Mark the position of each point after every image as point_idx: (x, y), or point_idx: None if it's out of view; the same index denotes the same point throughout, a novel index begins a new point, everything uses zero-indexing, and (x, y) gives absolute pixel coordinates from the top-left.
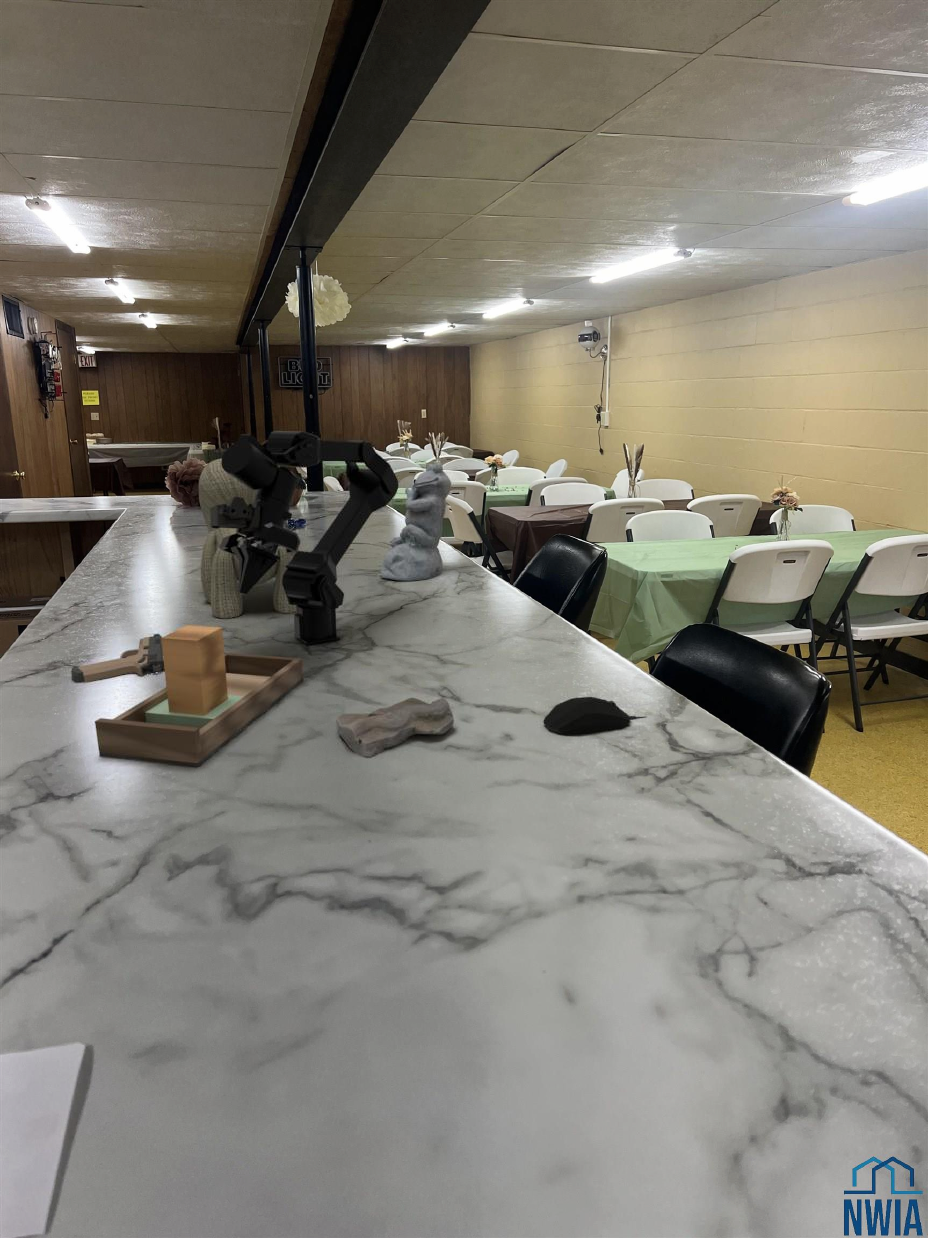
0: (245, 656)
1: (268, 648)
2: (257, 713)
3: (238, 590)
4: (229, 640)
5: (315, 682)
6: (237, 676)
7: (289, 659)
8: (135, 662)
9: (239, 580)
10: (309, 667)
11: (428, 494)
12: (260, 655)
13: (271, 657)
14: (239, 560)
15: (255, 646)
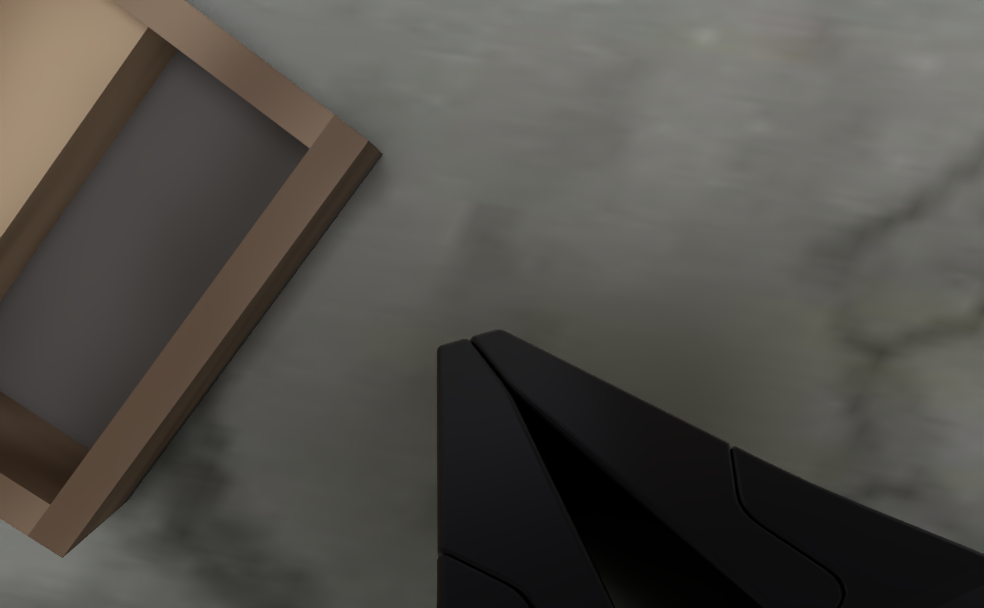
0: (233, 253)
1: (723, 436)
2: None
3: (501, 336)
4: (966, 264)
5: (78, 548)
6: (2, 162)
7: (72, 486)
8: None
9: (574, 396)
10: (318, 568)
11: None
12: (219, 341)
13: (153, 396)
14: (980, 587)
15: (790, 378)
